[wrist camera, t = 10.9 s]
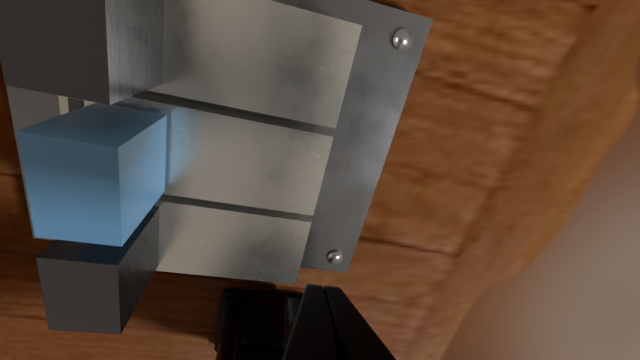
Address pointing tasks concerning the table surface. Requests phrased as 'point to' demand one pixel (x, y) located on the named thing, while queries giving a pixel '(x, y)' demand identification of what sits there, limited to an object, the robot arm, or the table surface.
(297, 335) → the robot arm
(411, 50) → the breaker board
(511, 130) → the table surface
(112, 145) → the blue toggle
